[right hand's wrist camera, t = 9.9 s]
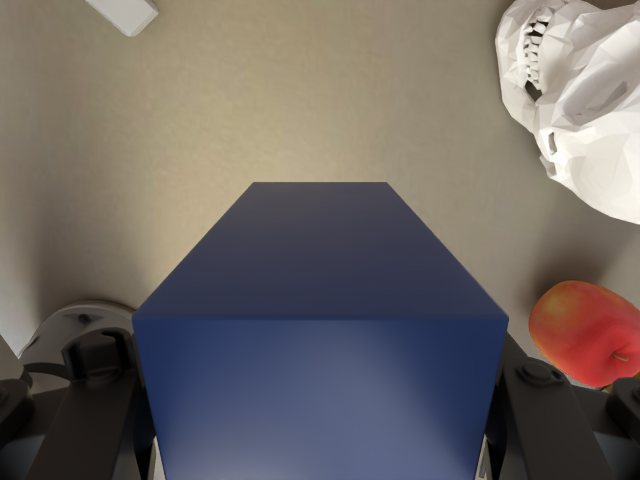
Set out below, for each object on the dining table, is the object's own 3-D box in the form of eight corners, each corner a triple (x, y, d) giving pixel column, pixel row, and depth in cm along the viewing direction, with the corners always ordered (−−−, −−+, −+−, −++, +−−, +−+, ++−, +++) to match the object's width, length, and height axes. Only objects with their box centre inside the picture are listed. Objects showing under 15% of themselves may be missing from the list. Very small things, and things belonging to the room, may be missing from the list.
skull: (553, -57, 29) (785, -217, 14) (703, 118, 34) (996, 134, 19) (436, 84, 33) (523, 74, 18) (585, 222, 38) (749, 302, 23)
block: (252, 181, 16) (128, 317, 6) (387, 181, 16) (511, 316, 6) (260, 303, 18) (181, 562, 8) (379, 303, 18) (458, 562, 8)
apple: (529, 351, 43) (587, 418, 34) (497, 292, 40) (551, 348, 31) (608, 313, 41) (693, 374, 32) (581, 249, 38) (665, 295, 29)
